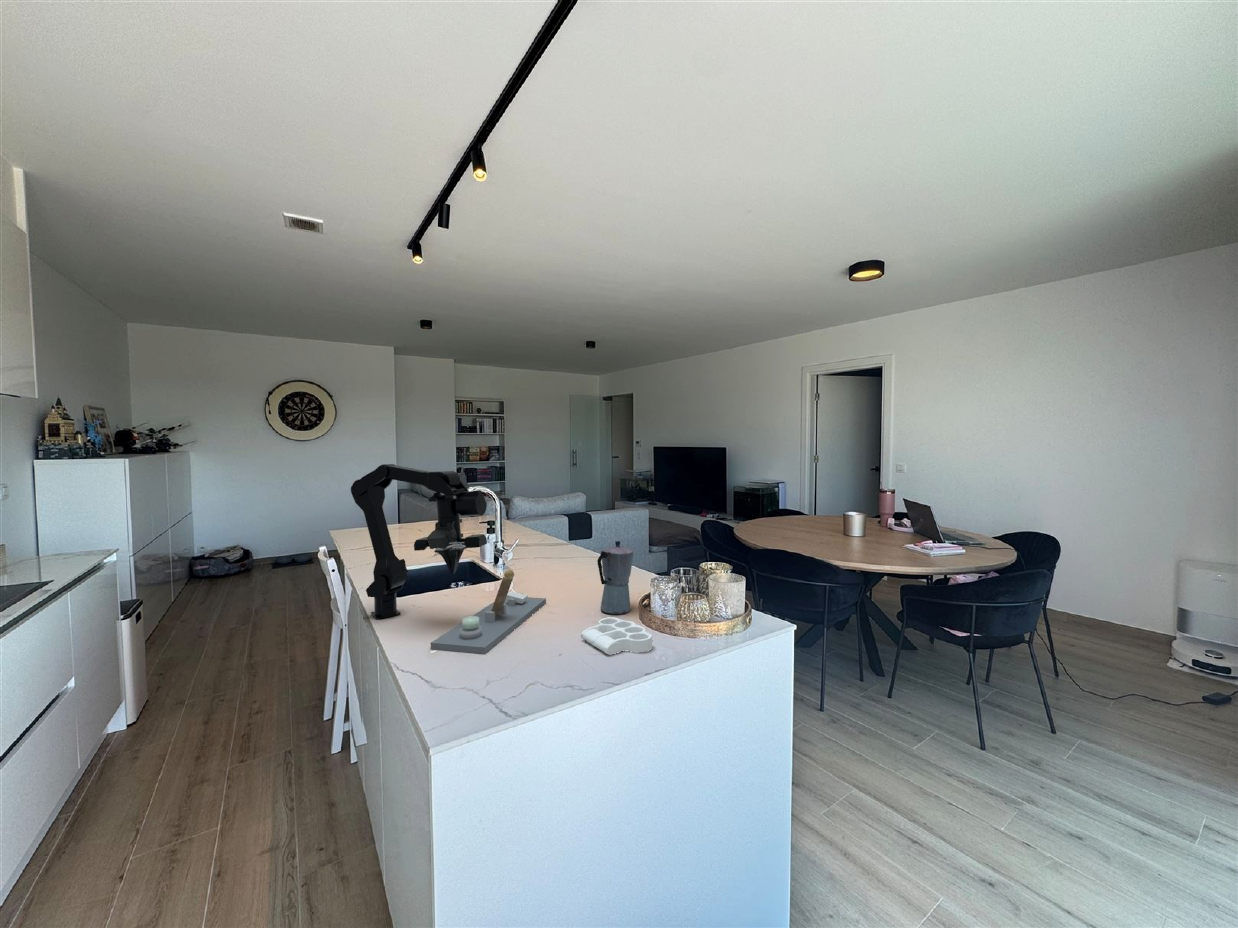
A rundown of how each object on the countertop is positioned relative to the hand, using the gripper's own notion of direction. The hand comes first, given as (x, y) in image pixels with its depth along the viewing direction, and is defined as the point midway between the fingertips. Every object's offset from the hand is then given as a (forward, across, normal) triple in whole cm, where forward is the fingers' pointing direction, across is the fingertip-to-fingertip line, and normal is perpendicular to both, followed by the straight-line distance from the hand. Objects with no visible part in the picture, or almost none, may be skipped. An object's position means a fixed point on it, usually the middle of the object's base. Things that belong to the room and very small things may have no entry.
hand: (453, 573), depth 135 cm
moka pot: (+16, +42, +13) cm, 47 cm away
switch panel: (+14, +12, -1) cm, 18 cm away
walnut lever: (+11, +12, -1) cm, 16 cm away
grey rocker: (+11, +13, +12) cm, 21 cm away
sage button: (+10, +11, -14) cm, 20 cm away
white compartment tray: (+17, +46, -10) cm, 50 cm away
